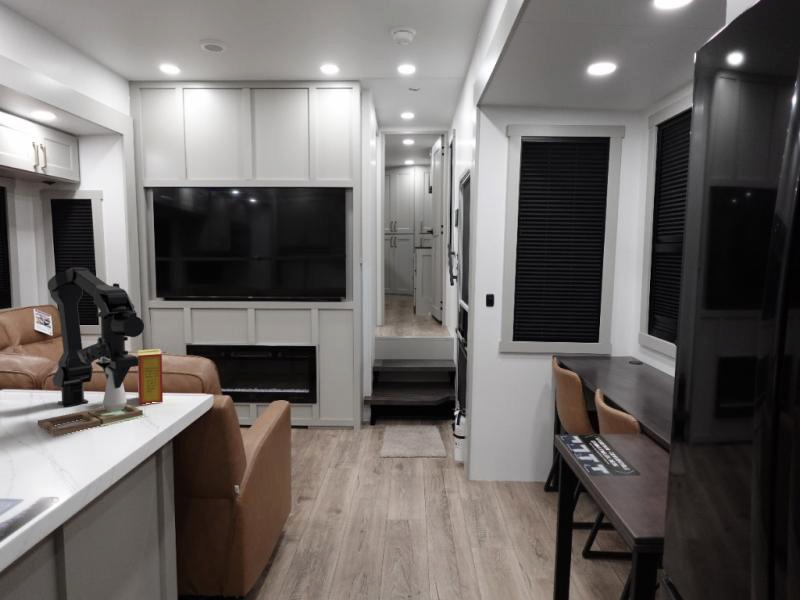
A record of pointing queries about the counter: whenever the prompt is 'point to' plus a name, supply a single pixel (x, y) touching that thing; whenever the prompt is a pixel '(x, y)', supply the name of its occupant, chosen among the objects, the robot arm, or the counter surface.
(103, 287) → the robot arm
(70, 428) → the frame
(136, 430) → the counter surface
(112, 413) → the card
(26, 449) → the counter surface
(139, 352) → the baking soda box
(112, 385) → the salt shaker
